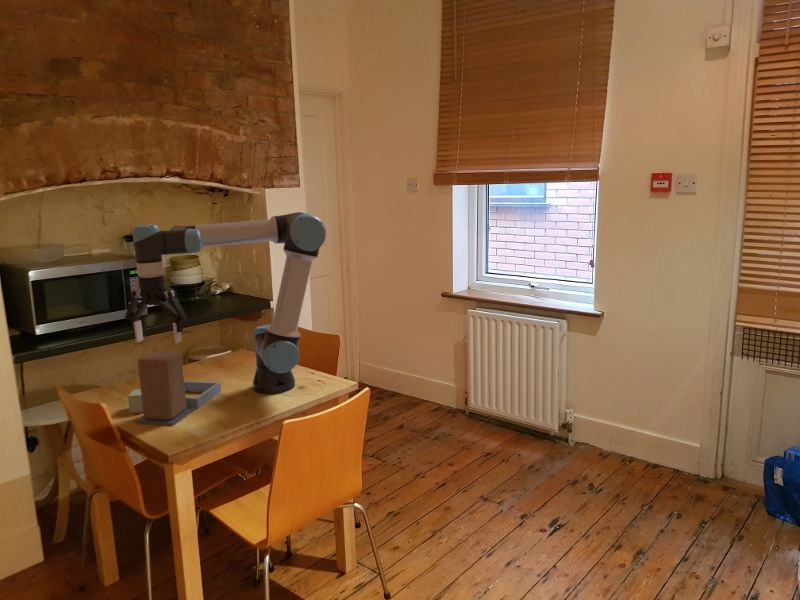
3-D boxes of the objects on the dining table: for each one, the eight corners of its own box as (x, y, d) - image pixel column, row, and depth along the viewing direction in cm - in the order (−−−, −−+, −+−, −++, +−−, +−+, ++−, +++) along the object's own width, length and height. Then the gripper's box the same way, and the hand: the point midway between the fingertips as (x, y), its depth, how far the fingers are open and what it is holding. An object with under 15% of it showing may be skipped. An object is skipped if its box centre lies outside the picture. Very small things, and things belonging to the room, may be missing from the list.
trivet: (194, 410, 205) (194, 407, 204) (172, 425, 192) (172, 423, 192) (159, 408, 207) (159, 405, 207) (135, 423, 195) (135, 420, 195)
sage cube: (154, 405, 210) (152, 388, 209) (148, 412, 204) (146, 395, 203) (136, 406, 210) (134, 389, 208) (129, 412, 204) (127, 395, 203)
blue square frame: (221, 391, 221) (220, 382, 221) (198, 408, 206) (197, 398, 205) (180, 389, 224) (179, 380, 224) (155, 405, 209) (154, 396, 208)
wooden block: (171, 421, 194) (164, 360, 190) (142, 419, 196) (135, 359, 192) (188, 409, 203) (182, 351, 199) (160, 407, 205) (154, 350, 201)
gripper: (194, 273, 191) (201, 339, 196) (122, 273, 196) (131, 337, 201) (181, 277, 184) (188, 345, 189) (107, 277, 189) (116, 343, 194)
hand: (159, 341), depth 195 cm, fingers open, 13 cm apart
